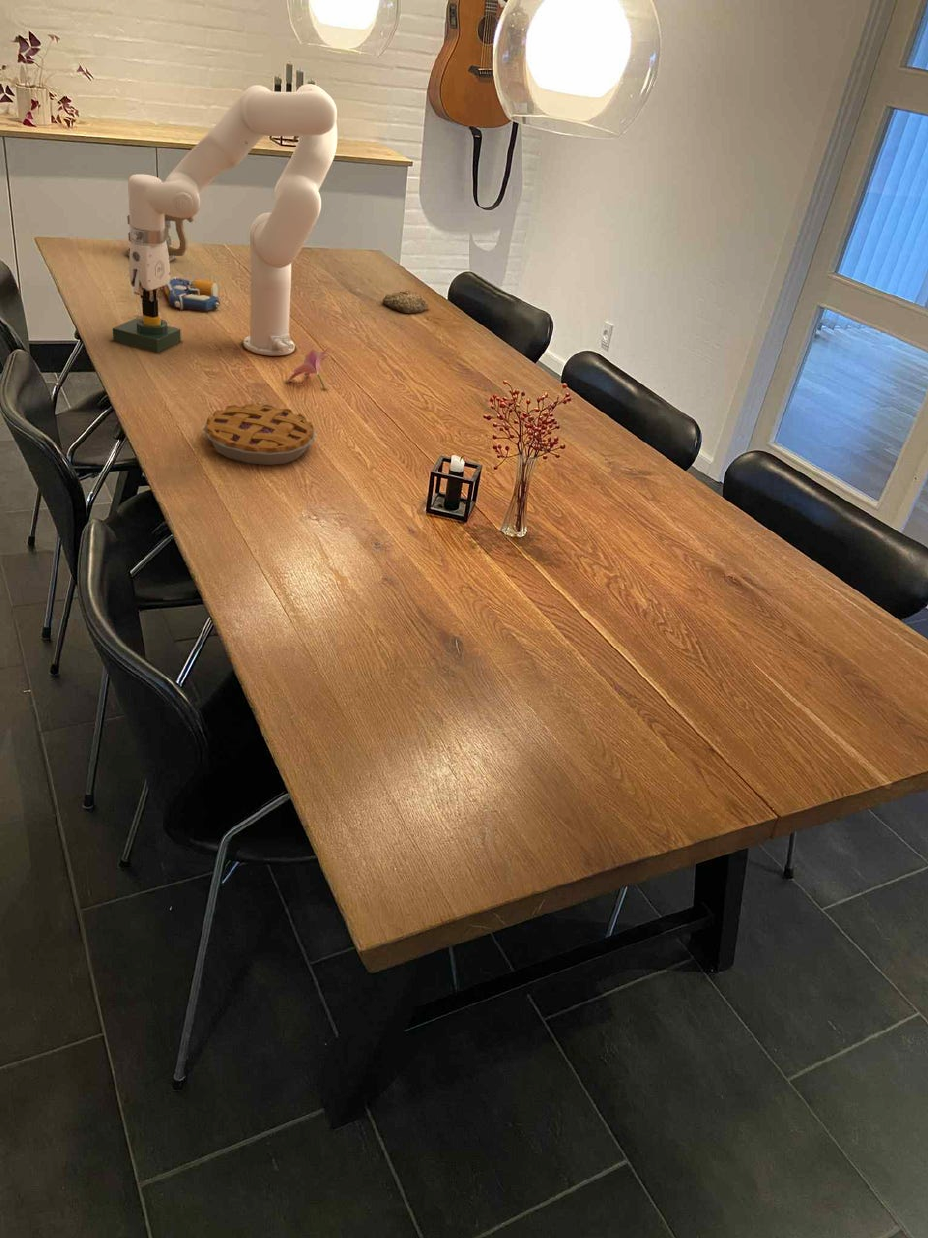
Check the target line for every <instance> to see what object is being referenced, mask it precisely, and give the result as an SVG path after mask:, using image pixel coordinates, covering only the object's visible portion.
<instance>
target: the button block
mask: <svg viewBox="0 0 928 1238" xmlns="http://www.w3.org/2000/svg"><path fill="white" fill-rule="evenodd" d="M181 336H182V335H181V328H178V327H174V326H169V325H168V321H166V320H164V319H161V325H159V326H148V325H144V324H143V317H142V318H139V317H136V318H134V319H131V320H129V321H126V322H124V323H122V324H119V325H117V326H114V327H112V341H113V342H116V343H119V344H124V345H127V346H130V347H134V348H138V349H141V350H145V351H149V352H153V353H157V354H158V353H161V352H163V351H165V350H167V349H170V348H171V347H173V346H175V345H177V344H180V343H182V339H181V338H182V337H181Z"/></svg>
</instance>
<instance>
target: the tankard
mask: <svg viewBox="0 0 928 1238" xmlns="http://www.w3.org/2000/svg"><path fill="white" fill-rule="evenodd" d="M126 217H127V218H126V219H127V224H128V225H129V226H130V218H129V214H128V215H127V216H126ZM164 218H165V241H166V243H167V248H168V254H169V263H170V262H171V261H173V260H175V257H183V256H185V254H186V252H187V250H188V248H189V247H188V245H189V244H188V238H187V235H186V232H185V227H184V226H185V225H184V221H185V220H187V222H189V224H190V223H193V222H194V220H195V217H194V216H192V217H190V218H179V217H175V216H171V215H167V214H164ZM171 222H174V223H175V232H176V234H177V237H178V240H179V247H178V248H175V247H173V246H172V237H171V236H170V234H169V233H170V232H169V229H171V228H172V225H171V224H172V223H171ZM127 235H128V236H127V237H128V242H129V243H131V240H130V231H129V232H128V233H127ZM126 256H128V257H129V258H130V247H129V248H128V249H126Z"/></svg>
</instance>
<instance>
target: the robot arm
mask: <svg viewBox="0 0 928 1238" xmlns="http://www.w3.org/2000/svg"><path fill="white" fill-rule="evenodd" d="M337 120H338V109H337V105H336V103H335V100H334V99H333V98H332V97H331V96H330V95H329V94H328V93H327V92H326V91H325V90H324V89H323V88H321V87H320V86H318V85H315V84H312V83H306V84H302V85H300V86H299V87H298V88H297V89H296V91H275V90H274V91H273V90H272V91H271V90H270V89H269V88H267V87H266V86H263V85H260V84H259V85H258V84H256V85H251V86H250V87H248V88H247V89H245V90H244V91H243V92H242V94H241V95H240V96H239V97H238V98H237V99H236V100H235V102H234V103H233V104H232V105H231V106H230V107H229V108H228V109H227V111H226V112H225V113H224V115H222V117H221V118H220V119H219V120H218V121H217V122H216V124H215V125H214V126H213V127H212V128H211V129H210V130H209V132H208V133H206V135H205V136H204V137H202V138H201V139H200V141H199V142H198V143H197V144H196V145H194V146H193V148H192V149H191V150H189V152H188V153H187V154H186V155H185V156H184V157H183V158H182V159H181V160H180V162H179V163H178V164H177V165H176V166H175V167H174V168H173V170H172V171H171V172H170V173H169V174H168V176H167V177H166V178H165V181H162V179H160V178H159V177H157V176H156V175H155V176H153V175H151V174H145V173H144V174H143V173H140V174H132V175H131V176H129V178H128V180H127V195H128V213H129V214H128V215H129V218H130V225H129V232H130V240H131V242H130V246H129V248H130V257H129V261H128V263H129V264H128V270H129V271H128V272H129V282H130V285H131V286H132V287H134V288H133V294H134V295H137V296H139V297H140V299H141V303H142V316H143V315H145V316H149V317H153V318H154V317H157V316H158V315H159V298H160V291H161V289H163V288H162V287H164V286H165V285H167V284H168V283H169V282H170V278H171V264H170V262H169V254H168V248H167V243H166V241H165V218H164V214H167V215H171V216H175V217H179V218H190V217H192V216H193V217H194V216H196V215H197V214H198V212H199V210H200V208H201V197H200V195H201V194H202V192H204V190H205V189H206V188H207V187H208V186H209V185H210V183H211V182H212V181H214V179H216V177H218V176H219V175H220V174H222V173H223V172H226V171H227V170H231V169H233V168H235V167H237V166H238V165H239V164H240V163H241V162H243V160H244V159H245V158H246V157H247V156H248V155H249V153H251V150H252V149H253V148H254V147H255V146H256V145H257V144H258V143H259V142H260V140H261V139H263V137H264V136H267V137H298V141H297V143H296V146H295V148H294V150H293V153H292V155H291V157H290V158H289V161H288V162H287V164H286V166H285V168H284V170H283V172H282V174H280V177H279V178H278V180H277V182H276V184H275V186H274V192H273V193H274V199H275V205H274V207H273V208H272V211H271V212H264V213H261V214H260V215H258V216H257V217H256V218H255V219H254V221H253V222H252V224H251V227H250V232H249V246H250V248H249V249H250V306H249V307H250V309H249V310H250V312H249V313H250V315H249V316H250V318H249V321H250V322H249V336H246V337H244V339H243V347H244V348H245V349H246V350H248V351H249V352H251V353H254V354H258V355H262V356H263V355H264V356H271V357H272V356H273V357H275V356H276V357H278V356H286V355H290V354H291V353H294V352H295V348H296V347H295V346H296V345H295V342H293V340H291V334H290V317H291V316H290V314H291V313H290V312H291V288H292V263H293V262H294V261H295V260H296V258H297V257H298V256H299V254H300V252H301V250H302V249H303V247H304V245H305V243H306V242H307V240H308V238H309V236H310V234H311V232H312V230H313V228H314V226H315V225H316V223H317V221H318V219H319V216H320V213H321V209H322V198H321V195H320V192H319V191H320V188H321V186H322V184H323V182H324V181H325V178H326V176H327V174H328V172H329V171H330V167H331V166H332V163H333V161H334V159H335V157H336V156H335V155H336V152H337V147H338V126H337Z"/></svg>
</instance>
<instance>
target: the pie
mask: <svg viewBox="0 0 928 1238" xmlns="http://www.w3.org/2000/svg"><path fill="white" fill-rule="evenodd" d="M203 431H204V433H205V435H206V437H207V438H208V440H209V441H211V444H212V445H213V447H214V449H215V452H216V453H218V454H219V455H222V456H224V457H226V458H228V459H231V460H235V461H239V462H242V463H246V464H255V465H264V466H265V465H266V466H272V465H285V464H288V463H291V462H294V461H295V460H297V459H298V458H300V457H301V456H302V455H303V454H304V453H305V452H306V450H307V449H308V448H309V446H310V444H312V442H314V441H315V437H316V436H315V435H316V430H315V428H314V425H313V423H312V422H311V421H309V420H307V417H306V416H305V415H304V414H302V413H298V414H295V413H294V412H293V410H292V409H289V408H283V409H280V408H277V407H275V406H273V405H270V404H264V405H262V406H260V405H258V406H257V405H255V404H253V403H249V404H245V405H243V406H237V405H235V404H233V405H228V406H226V408H225V409H223V410H221V409H217V410H215V411H214V412H213V414H212V416H208V417H207V419H206V422H205V424H204V427H203Z"/></svg>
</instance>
